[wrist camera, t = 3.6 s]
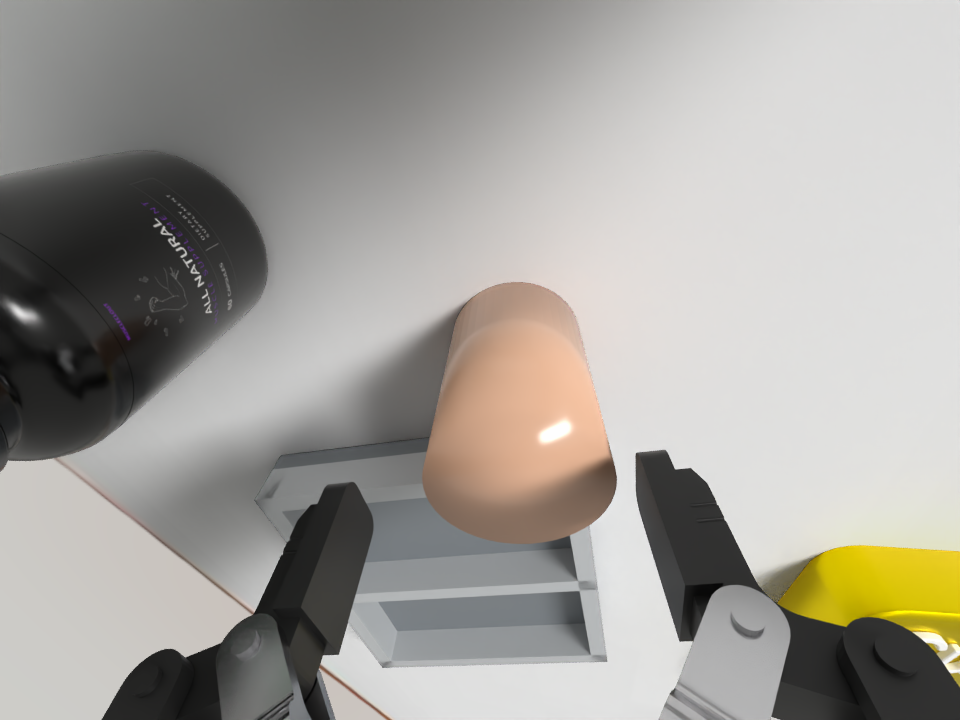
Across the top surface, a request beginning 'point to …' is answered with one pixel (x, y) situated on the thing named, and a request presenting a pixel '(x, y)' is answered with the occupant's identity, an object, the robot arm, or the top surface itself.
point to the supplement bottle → (112, 291)
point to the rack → (445, 570)
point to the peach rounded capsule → (518, 422)
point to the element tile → (886, 593)
